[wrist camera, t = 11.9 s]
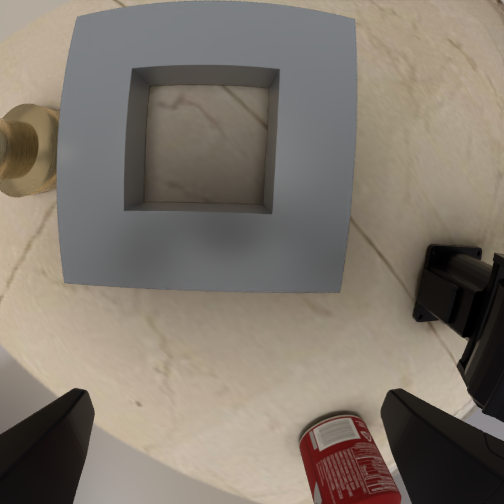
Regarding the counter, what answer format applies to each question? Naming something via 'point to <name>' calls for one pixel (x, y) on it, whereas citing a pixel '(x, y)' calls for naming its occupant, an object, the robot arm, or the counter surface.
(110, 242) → the housing
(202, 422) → the counter surface
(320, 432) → the soda can
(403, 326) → the counter surface
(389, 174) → the counter surface
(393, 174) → the counter surface
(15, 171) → the stepped shaft
